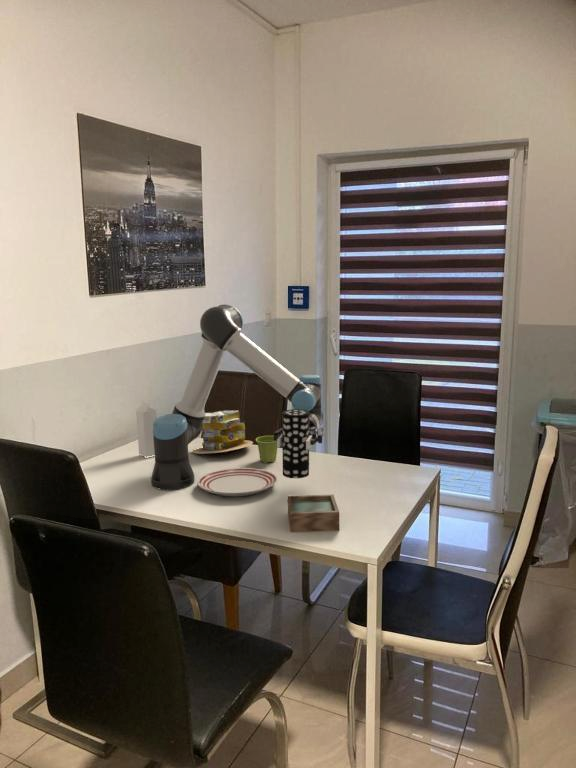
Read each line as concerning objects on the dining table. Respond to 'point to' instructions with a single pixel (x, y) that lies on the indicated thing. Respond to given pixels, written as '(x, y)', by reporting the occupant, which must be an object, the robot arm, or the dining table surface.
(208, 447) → the plate of food packages
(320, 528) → the square wooden tray
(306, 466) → the white-spotted black cylinder
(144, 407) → the milk
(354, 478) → the dining table surface
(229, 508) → the dining table surface
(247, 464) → the dining table surface
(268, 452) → the plant pot
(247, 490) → the dinner plate
